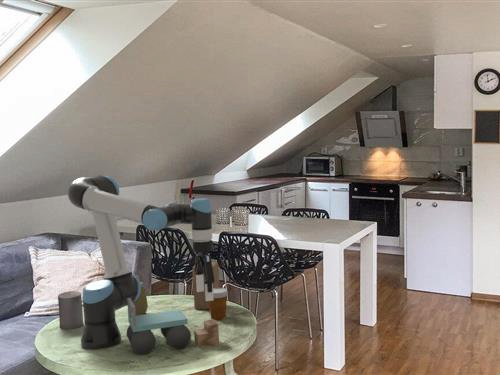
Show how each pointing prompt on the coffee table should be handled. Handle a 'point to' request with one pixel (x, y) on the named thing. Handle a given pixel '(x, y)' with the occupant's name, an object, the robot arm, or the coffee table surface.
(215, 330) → the block
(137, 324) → the trolley
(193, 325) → the coffee table surface
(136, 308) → the squeeze bottle
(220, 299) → the disposable coffee cup
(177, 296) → the coffee table surface
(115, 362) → the coffee table surface
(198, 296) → the block
